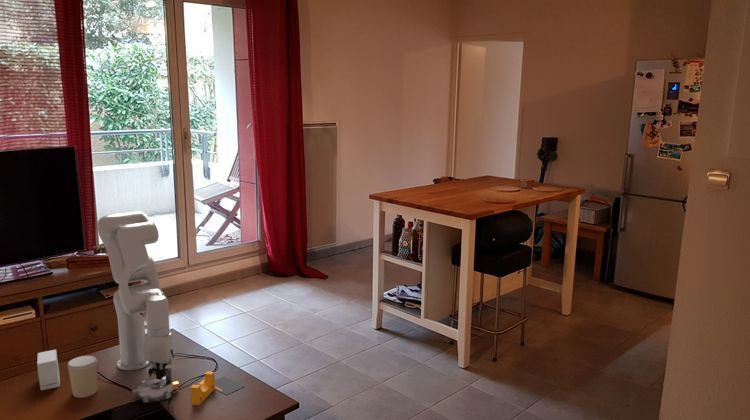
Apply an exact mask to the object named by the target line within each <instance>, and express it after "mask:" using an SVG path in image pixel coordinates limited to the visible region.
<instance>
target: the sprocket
mask: <svg viewBox="0 0 750 420" xmlns="http://www.w3.org/2000/svg"><path fill="white" fill-rule="evenodd" d="M172 377H173V376H172V368H171V367H165V376H164V377H163V378H162V379H161V380H160V379H156V378H153V379H150V380H146V379H144V380H142V381H141V380H140V382H139V385H138V386H137V387H136V389H131V392H132V398H135V397H137V398H138V399H140V400H141V399H142V400H143V401H142V400H141V401H142V403H147V402H148V403H150V402H149V401H150V400H158V399H162V398H166V399H165V400H167V399H169V398H172V393H173V392H174V390H179V389H180V387H179V386H180V384H179V381H178V380H176V381H172V380H173V379H172Z"/></svg>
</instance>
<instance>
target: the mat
mask: <svg viewBox="0 0 750 420" xmlns="http://www.w3.org/2000/svg"><path fill="white" fill-rule="evenodd" d="M243 388H245V386H244V385H242V384H241V383H239V382H236V381H234V380H233V379H231V378H228V377H226V376H222V377H220V378H217V379H216V380H215V389H214V390H215V391H218V392H219V393H221V394H223V395H225V396H228V395H230V394H232V393H234V392H236V391H238V390H241V389H243Z"/></svg>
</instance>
